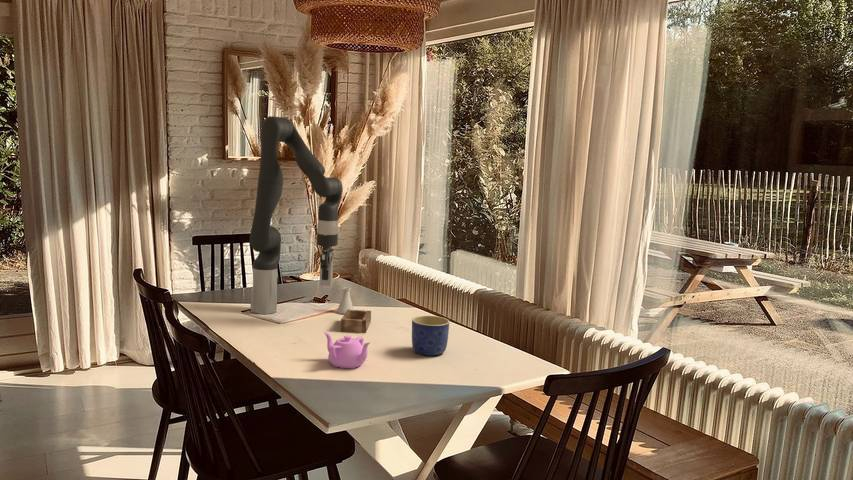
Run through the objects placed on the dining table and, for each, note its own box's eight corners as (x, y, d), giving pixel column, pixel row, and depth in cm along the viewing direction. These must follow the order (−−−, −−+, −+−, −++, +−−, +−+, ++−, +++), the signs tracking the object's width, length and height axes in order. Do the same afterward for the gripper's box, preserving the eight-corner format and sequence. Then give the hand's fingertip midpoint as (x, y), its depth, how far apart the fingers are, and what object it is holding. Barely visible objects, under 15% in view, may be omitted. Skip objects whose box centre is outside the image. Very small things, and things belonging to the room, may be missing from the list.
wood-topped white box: (319, 285, 257) (320, 261, 255) (321, 283, 261) (322, 259, 259) (330, 286, 256) (331, 261, 255) (332, 283, 260) (333, 259, 259)
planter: (420, 359, 225) (422, 326, 224) (404, 348, 236) (405, 316, 235) (454, 355, 231) (456, 323, 230) (436, 345, 242) (438, 314, 240)
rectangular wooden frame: (340, 331, 252) (341, 319, 251) (347, 320, 267) (347, 309, 266) (365, 333, 252) (366, 321, 251) (370, 322, 267) (371, 310, 266)
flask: (356, 311, 283) (357, 286, 281) (352, 315, 276) (353, 290, 274) (338, 309, 283) (339, 285, 282) (334, 314, 276) (335, 289, 275)
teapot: (369, 370, 213) (370, 341, 212) (323, 370, 211) (324, 341, 209) (366, 357, 224) (368, 330, 223) (323, 357, 222) (323, 330, 221)
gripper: (321, 229, 263) (319, 274, 265) (313, 234, 249) (312, 282, 251) (341, 230, 263) (339, 275, 265) (334, 235, 248) (332, 283, 251)
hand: (326, 278), depth 258 cm, fingers closed on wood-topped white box, 4 cm apart
